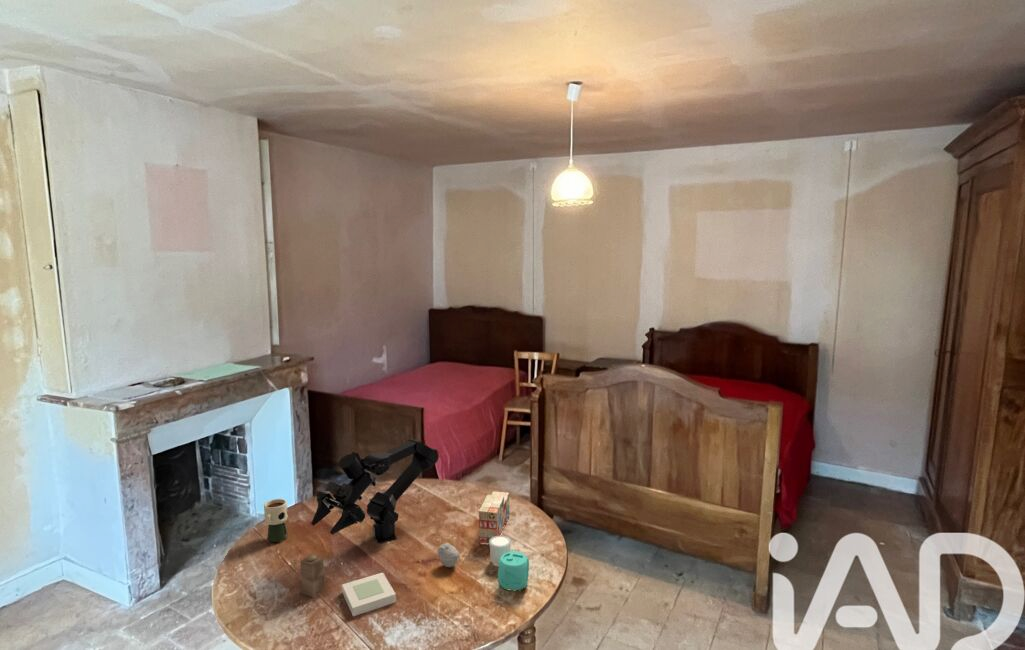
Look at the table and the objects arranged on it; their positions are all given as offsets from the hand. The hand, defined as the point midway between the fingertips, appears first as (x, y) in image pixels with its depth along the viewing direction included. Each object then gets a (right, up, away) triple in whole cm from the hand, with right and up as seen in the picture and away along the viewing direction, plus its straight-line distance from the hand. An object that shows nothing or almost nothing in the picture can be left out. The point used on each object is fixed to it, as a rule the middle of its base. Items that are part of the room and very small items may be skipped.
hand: (321, 529), depth 169 cm
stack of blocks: (+52, -10, +27) cm, 59 cm away
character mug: (-22, -11, +21) cm, 32 cm away
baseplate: (+17, -16, -11) cm, 25 cm away
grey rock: (+38, -13, +5) cm, 41 cm away
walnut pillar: (0, -15, -8) cm, 17 cm away
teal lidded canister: (+58, -15, -4) cm, 60 cm away
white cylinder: (+54, -13, +7) cm, 56 cm away
